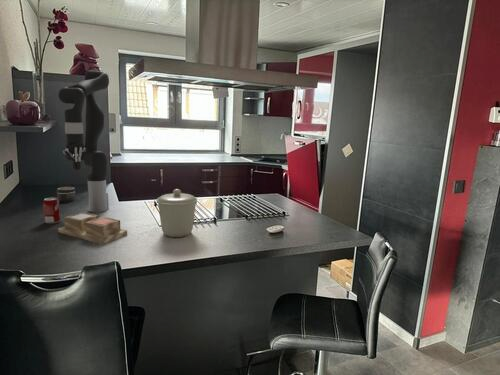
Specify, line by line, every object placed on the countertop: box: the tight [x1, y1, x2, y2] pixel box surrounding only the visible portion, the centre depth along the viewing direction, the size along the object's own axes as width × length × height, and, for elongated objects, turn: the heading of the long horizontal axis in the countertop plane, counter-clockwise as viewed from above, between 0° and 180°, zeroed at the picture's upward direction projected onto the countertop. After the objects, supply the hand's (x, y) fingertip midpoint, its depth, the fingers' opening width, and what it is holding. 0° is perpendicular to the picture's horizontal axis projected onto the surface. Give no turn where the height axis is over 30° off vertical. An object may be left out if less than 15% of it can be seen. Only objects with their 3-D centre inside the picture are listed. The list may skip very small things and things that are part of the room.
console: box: [57, 211, 128, 245], centre depth 158 cm, size 14×28×7 cm, turn 63°
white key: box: [70, 213, 92, 220], centre depth 160 cm, size 7×7×3 cm
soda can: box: [42, 197, 61, 225], centre depth 171 cm, size 7×7×12 cm
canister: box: [155, 188, 198, 238], centre depth 160 cm, size 18×18×21 cm
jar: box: [56, 186, 76, 203], centre depth 215 cm, size 10×10×8 cm
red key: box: [91, 217, 115, 225], centre depth 154 cm, size 7×7×3 cm
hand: (76, 169), depth 165 cm, fingers closed
